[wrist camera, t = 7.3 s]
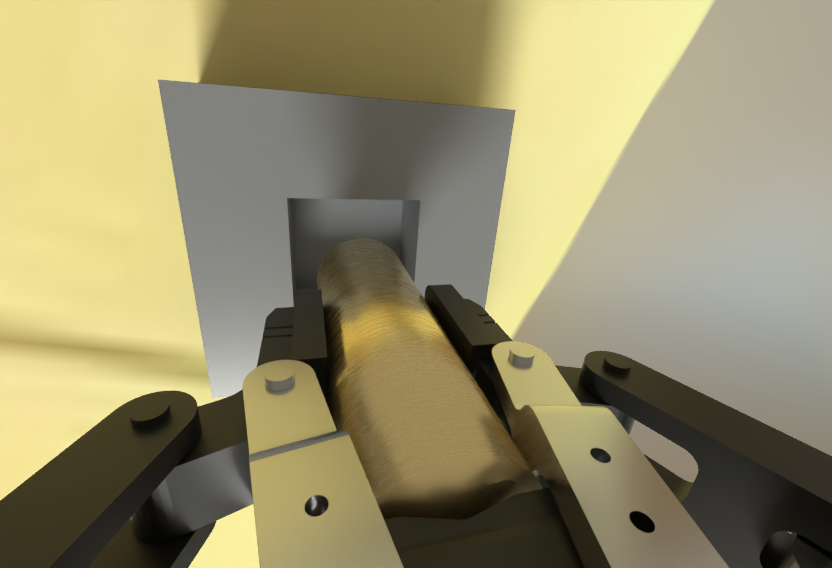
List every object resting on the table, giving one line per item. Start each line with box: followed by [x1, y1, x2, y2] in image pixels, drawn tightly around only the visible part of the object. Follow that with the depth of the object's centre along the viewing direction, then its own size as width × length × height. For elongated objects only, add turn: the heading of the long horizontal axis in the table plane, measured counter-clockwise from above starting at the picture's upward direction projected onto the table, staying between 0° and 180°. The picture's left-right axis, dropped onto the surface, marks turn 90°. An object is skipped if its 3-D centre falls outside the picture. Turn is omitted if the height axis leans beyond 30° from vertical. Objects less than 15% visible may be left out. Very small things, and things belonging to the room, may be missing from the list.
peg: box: [317, 238, 543, 520], centre depth 10 cm, size 3×3×10 cm
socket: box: [158, 80, 515, 398], centre depth 18 cm, size 12×12×5 cm
